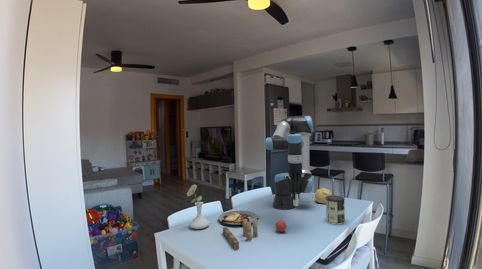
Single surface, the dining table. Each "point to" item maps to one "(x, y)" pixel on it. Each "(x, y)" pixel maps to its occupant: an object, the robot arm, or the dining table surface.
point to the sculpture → (322, 195)
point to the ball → (280, 226)
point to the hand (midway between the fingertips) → (295, 205)
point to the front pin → (255, 228)
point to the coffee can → (335, 209)
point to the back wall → (231, 238)
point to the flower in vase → (199, 220)
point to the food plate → (237, 217)
